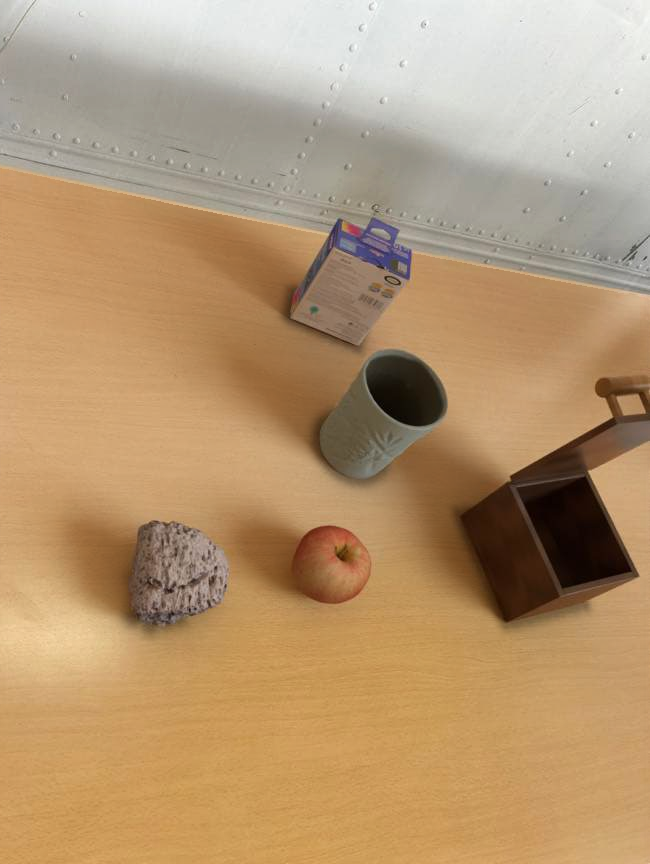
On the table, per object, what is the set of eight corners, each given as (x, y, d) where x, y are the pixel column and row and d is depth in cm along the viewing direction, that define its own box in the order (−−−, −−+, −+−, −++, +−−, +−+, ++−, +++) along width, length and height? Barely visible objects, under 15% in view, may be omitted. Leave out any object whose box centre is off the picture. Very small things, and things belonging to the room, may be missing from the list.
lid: (702, 413, 78) (679, 362, 79) (617, 424, 72) (594, 368, 74) (591, 470, 90) (573, 424, 92) (511, 482, 85) (493, 434, 86)
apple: (264, 565, 80) (296, 534, 74) (317, 530, 84) (352, 497, 78) (311, 629, 79) (348, 603, 72) (362, 590, 83) (401, 562, 77)
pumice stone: (174, 655, 75) (237, 576, 78) (186, 652, 68) (255, 565, 71) (90, 587, 75) (156, 510, 77) (93, 576, 67) (166, 491, 70)
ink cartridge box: (363, 316, 101) (425, 234, 88) (359, 348, 98) (423, 268, 86) (294, 287, 98) (348, 198, 86) (288, 319, 96) (343, 232, 83)
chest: (583, 602, 94) (640, 576, 87) (506, 623, 89) (560, 596, 81) (536, 502, 98) (587, 469, 91) (460, 515, 93) (507, 481, 85)
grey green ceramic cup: (303, 459, 88) (354, 400, 78) (324, 394, 93) (374, 331, 83) (380, 498, 89) (440, 446, 79) (397, 432, 95) (455, 375, 84)
